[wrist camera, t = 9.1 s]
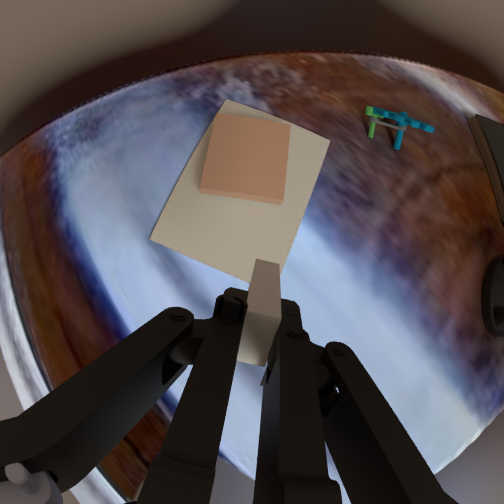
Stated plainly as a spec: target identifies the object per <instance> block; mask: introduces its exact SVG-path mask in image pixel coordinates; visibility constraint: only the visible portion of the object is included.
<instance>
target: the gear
mask: <svg viewBox="0 0 504 504" xmlns="http://www.w3.org/2000/svg"><path fill="white" fill-rule="evenodd" d="M365 114H366V115H369V117H368V121H370V122H371V123H370V129H369V134H368V137H371V138H373V134H374V129H375V124H376V123H377V124H381V125H385V126H388V127H392V128H395V129H397V133H396V138H395V142H394V146H393V148H395V149H397V150H399V149H400V145H401V141H402V137H403V132H404V131H406V128H407V124H408V125H410V126H412V127H415V128H418V129H419V128H421V129H422V130H425V131H427V132H432V133H434V127H432V126H431V125H428V124H426V123H423V122H421V121H419V120H416V119H413V118H410V117H409V116H407V113H405V112H402V111H401V113H396V112H393V111H388V110H385V109H382V108H377V107H373V106H372V107H370V106H366V111H365ZM378 117H379V118H383V117H386V118H391V119H394V120H395V121H397V123H396V125H394V124H391V123H387V122H384V121H380V120H379V119H378Z"/></svg>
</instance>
